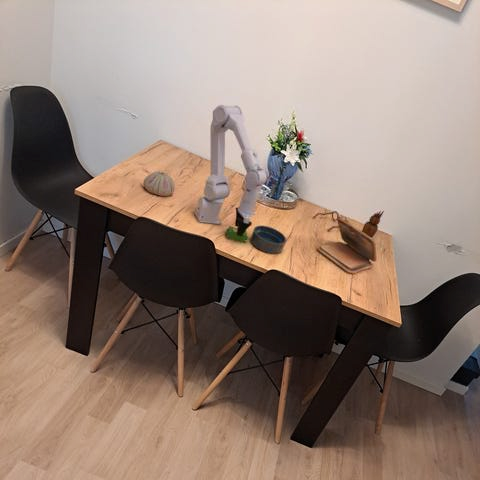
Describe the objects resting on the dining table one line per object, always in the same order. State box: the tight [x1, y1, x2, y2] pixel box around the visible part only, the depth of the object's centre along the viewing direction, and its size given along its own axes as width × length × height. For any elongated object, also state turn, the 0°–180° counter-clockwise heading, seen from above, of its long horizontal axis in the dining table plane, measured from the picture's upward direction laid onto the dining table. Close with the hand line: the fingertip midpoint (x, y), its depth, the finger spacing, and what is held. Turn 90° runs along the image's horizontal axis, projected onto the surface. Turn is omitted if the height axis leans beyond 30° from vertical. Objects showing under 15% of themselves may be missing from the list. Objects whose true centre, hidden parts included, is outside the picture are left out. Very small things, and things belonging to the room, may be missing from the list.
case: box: [317, 217, 378, 275], centre depth 200 cm, size 20×21×16 cm
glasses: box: [312, 210, 350, 232], centre depth 229 cm, size 13×13×5 cm
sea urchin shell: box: [143, 170, 176, 197], centre depth 196 cm, size 13×14×8 cm
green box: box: [225, 225, 249, 243], centre depth 186 cm, size 8×5×3 cm, turn 96°
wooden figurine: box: [361, 210, 385, 239], centre depth 229 cm, size 7×6×15 cm
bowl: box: [250, 225, 287, 254], centre depth 189 cm, size 14×14×5 cm
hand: (238, 230), depth 185 cm, fingers open, 7 cm apart
